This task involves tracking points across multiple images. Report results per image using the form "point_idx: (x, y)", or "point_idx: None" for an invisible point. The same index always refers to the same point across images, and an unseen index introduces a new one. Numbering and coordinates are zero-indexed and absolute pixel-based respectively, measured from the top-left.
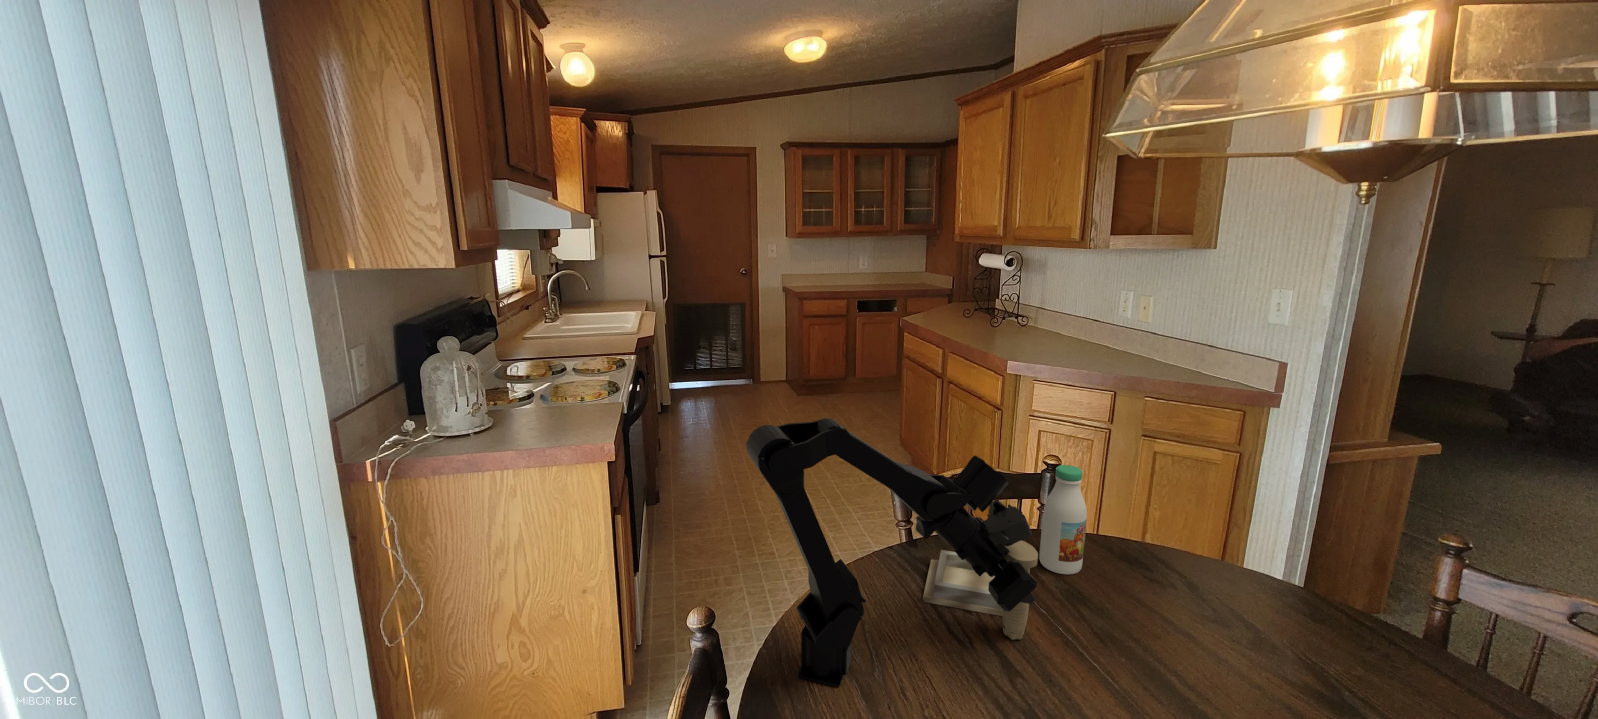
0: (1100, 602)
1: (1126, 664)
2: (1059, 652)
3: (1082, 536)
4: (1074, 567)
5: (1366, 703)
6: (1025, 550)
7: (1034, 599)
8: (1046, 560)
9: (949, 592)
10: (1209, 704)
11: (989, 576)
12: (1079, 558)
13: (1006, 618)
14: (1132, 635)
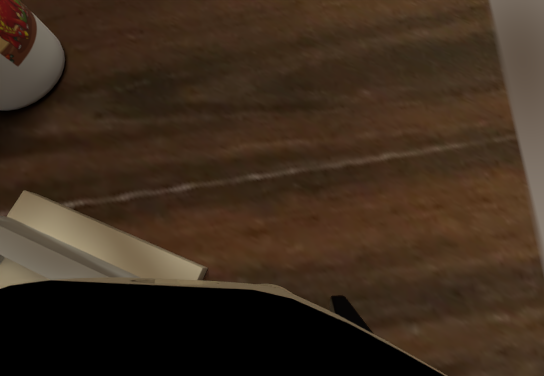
0: (174, 51)
1: (382, 94)
2: (345, 219)
3: None
4: (51, 44)
5: None
6: None
7: (347, 302)
8: (1, 94)
9: None
10: (486, 11)
11: (10, 284)
12: (30, 14)
13: (284, 374)
14: (289, 42)
